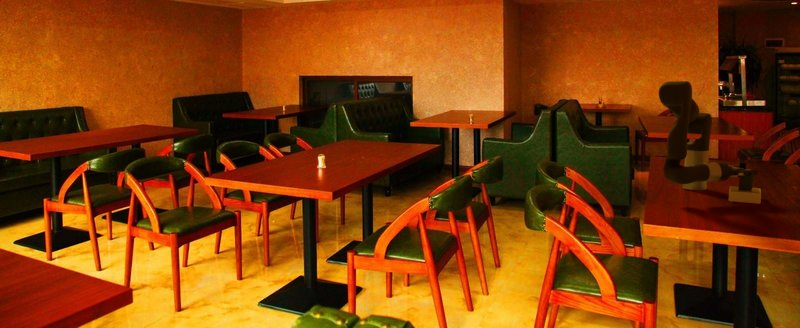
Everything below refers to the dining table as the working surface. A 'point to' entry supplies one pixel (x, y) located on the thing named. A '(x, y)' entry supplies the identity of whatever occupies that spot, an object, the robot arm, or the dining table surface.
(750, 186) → the vaping device
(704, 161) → the robot arm
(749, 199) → the riser
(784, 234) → the dining table surface
